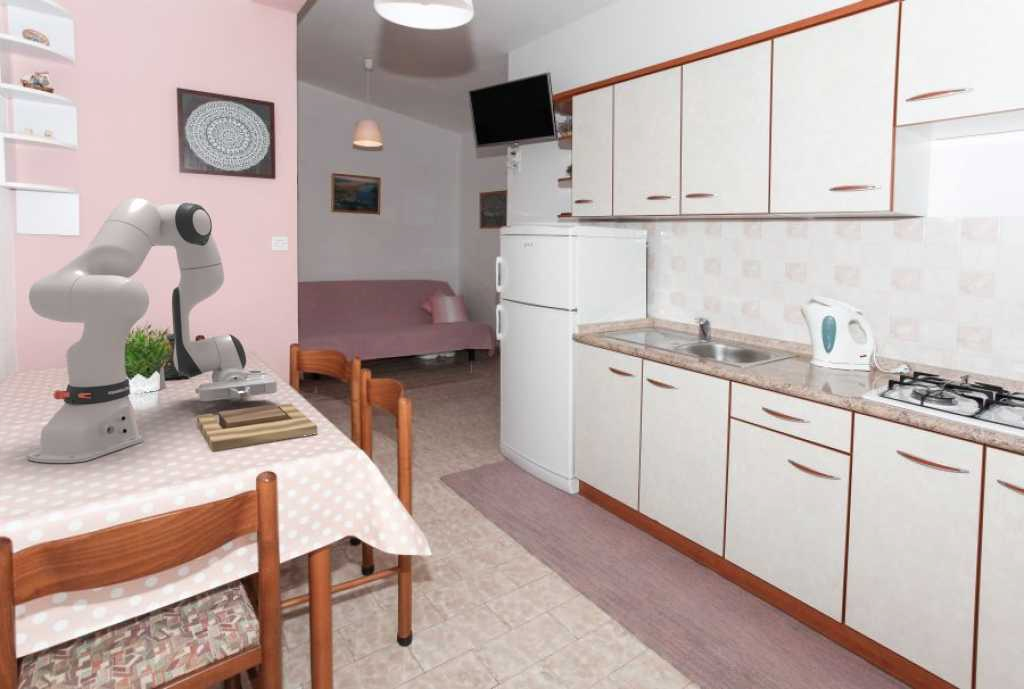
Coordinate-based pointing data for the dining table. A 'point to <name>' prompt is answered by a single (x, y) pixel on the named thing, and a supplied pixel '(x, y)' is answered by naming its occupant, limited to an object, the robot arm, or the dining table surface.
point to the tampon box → (172, 364)
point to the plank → (250, 416)
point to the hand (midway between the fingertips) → (243, 394)
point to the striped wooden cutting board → (256, 430)
